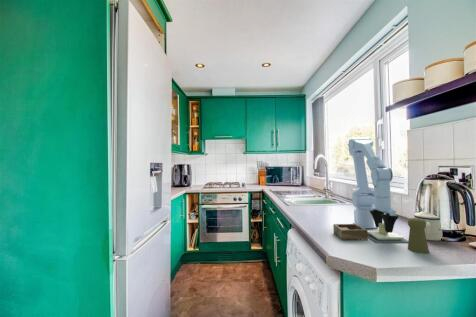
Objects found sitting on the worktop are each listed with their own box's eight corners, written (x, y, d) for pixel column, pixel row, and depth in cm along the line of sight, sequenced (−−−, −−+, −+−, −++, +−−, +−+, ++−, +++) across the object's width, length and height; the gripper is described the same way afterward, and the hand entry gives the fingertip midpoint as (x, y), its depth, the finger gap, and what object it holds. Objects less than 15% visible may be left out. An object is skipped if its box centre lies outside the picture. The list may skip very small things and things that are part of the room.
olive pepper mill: (433, 253, 79) (431, 220, 79) (413, 252, 80) (411, 220, 81) (422, 247, 85) (421, 216, 85) (404, 246, 86) (402, 216, 86)
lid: (365, 233, 102) (364, 221, 102) (389, 233, 101) (388, 220, 102) (377, 240, 92) (376, 227, 92) (404, 240, 91) (403, 226, 92)
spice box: (333, 233, 105) (333, 224, 105) (356, 233, 104) (356, 223, 104) (342, 240, 95) (341, 230, 95) (367, 240, 94) (367, 230, 94)
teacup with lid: (415, 233, 102) (413, 206, 103) (442, 236, 97) (441, 208, 97) (414, 240, 93) (413, 210, 93) (445, 244, 87) (443, 213, 88)
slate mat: (360, 233, 104) (360, 232, 104) (391, 233, 103) (390, 232, 103) (376, 242, 91) (376, 242, 91) (411, 242, 90) (411, 242, 90)
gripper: (364, 194, 105) (365, 225, 104) (382, 199, 90) (383, 234, 90) (380, 194, 104) (381, 225, 104) (401, 199, 90) (402, 234, 89)
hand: (383, 229), depth 97 cm, fingers open, 7 cm apart
